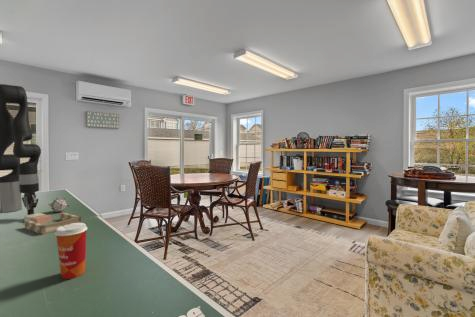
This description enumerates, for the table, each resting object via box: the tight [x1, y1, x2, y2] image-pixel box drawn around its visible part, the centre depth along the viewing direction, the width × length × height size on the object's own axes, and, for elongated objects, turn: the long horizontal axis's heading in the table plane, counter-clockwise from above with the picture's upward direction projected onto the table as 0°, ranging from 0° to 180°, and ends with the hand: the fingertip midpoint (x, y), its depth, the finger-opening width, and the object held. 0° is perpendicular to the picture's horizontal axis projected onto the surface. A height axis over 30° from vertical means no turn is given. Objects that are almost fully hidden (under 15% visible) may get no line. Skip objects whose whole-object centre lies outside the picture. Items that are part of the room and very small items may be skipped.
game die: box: [48, 197, 70, 214], centre depth 134 cm, size 9×8×10 cm
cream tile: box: [23, 212, 46, 221], centre depth 119 cm, size 6×6×3 cm
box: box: [24, 211, 82, 235], centre depth 110 cm, size 17×15×4 cm
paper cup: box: [54, 222, 88, 280], centre depth 68 cm, size 8×8×14 cm
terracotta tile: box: [30, 214, 52, 225], centre depth 116 cm, size 6×6×3 cm
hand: (30, 215), depth 121 cm, fingers closed
